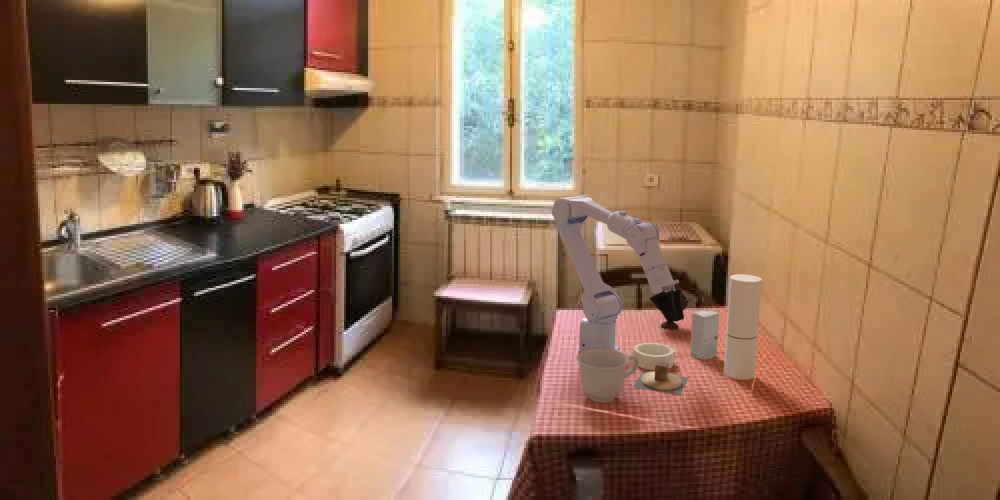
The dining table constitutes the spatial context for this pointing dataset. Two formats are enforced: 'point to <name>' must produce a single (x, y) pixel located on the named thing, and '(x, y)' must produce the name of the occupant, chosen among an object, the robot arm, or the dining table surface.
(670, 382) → the lid
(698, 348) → the skincare box
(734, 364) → the cylindrical container
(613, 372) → the teacup
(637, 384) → the mat
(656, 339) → the dining table surface
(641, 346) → the bowl
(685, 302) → the ice cream bowl
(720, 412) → the dining table surface
